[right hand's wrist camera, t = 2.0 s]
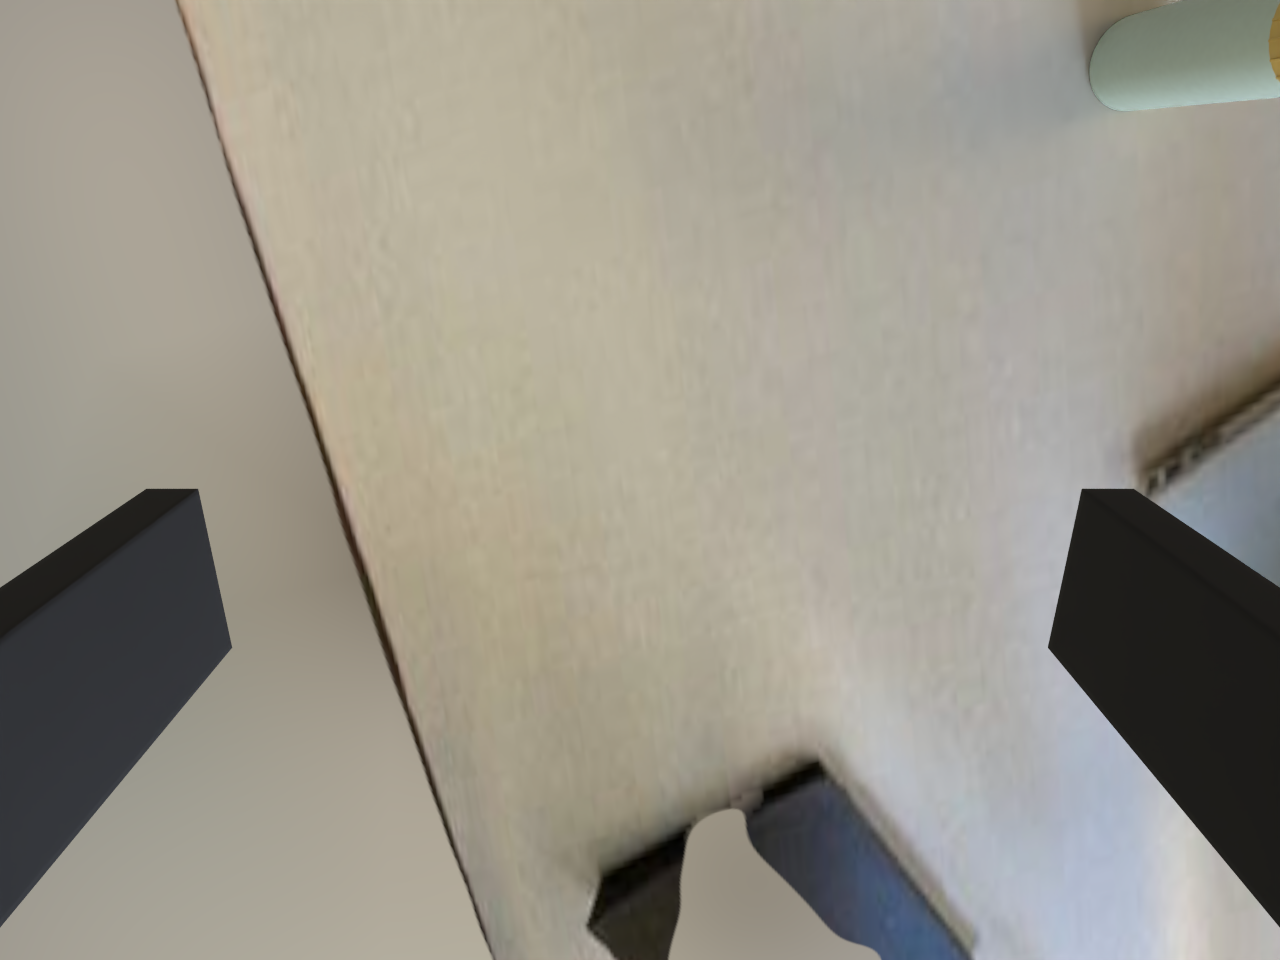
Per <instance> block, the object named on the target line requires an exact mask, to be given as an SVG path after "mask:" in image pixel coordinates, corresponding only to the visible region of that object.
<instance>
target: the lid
mask: <svg viewBox="0 0 1280 960" xmlns="http://www.w3.org/2000/svg"><path fill="white" fill-rule="evenodd" d="M1268 42H1269V56H1270V60H1269V61H1270V62H1271V65H1272V69H1273V71H1274V73H1275V76H1276V77H1275V78H1276V79H1278V81H1279V82H1280V3H1279V5H1278V7H1277V9H1276V12H1275V15H1274V18H1272V25H1271V29H1270V35H1269V40H1268Z"/></svg>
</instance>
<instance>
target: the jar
mask: <svg viewBox="0 0 1280 960" xmlns="http://www.w3.org/2000/svg"><path fill="white" fill-rule="evenodd" d="M1279 3H1280V0H1183V1H1179V2H1176V3H1172V4H1169V5H1165V6H1162V7H1158V8H1155V9H1151V10H1148V11H1144V12H1141V13H1137V14H1134V15H1130V16H1128V17H1125V18H1123V19H1121V20H1120V21H1118V22H1116V23H1115V24H1114V25H1113V26H1111V27H1110V28H1109V29H1108V30H1107V31H1106V32H1105V34H1104V35H1103V36H1102V37H1101V39H1100V40H1099V42H1098V44H1097V45H1096V47H1095V49H1094V52H1093V54H1092V58H1091V62H1090V69H1089V76H1090V83H1091V87H1092V90H1093V92H1094V94H1095V96H1096V97H1097V98H1098V100H1099V101H1100V102H1101V103H1102V104H1104V105H1105V106H1107V107H1109V108H1111V109H1114V110H1117V111H1135V110H1146V109H1157V108H1168V107H1179V106H1190V105H1201V104H1212V103H1223V102H1234V101H1245V100H1256V99H1267V98H1278V97H1280V82H1279V81H1278V79H1276V78H1275V77H1276V76H1275V73H1274V71H1273V69H1272V65H1271V62H1270V61H1269V60H1270V56H1269V42H1268V40H1269V35H1270V29H1271V25H1272V18H1274V15H1275V12H1276V9H1277V7H1278V5H1279Z"/></svg>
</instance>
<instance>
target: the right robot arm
mask: <svg viewBox="0 0 1280 960" xmlns="http://www.w3.org/2000/svg"><path fill="white" fill-rule="evenodd" d="M231 648H232V645H231V641H230V636H229V631H228V627H227V622H226V617H225V613H224V608H223V603H222V599H221V594H220V589H219V585H218V580H217V575H216V571H215V566H214V561H213V557H212V552H211V547H210V542H209V538H208V533H207V528H206V524H205V519H204V514H203V510H202V505H201V500H200V496H199V491H198V489H146V490H144V491H143V492H141V493H140V494H138V495H137V496H135V497H134V498H132V499H131V500H129V501H128V502H126V503H125V504H123V505H122V506H120V507H119V508H118V509H116V510H114V511H113V512H112V513H110V514H109V515H107V516H106V517H104V518H103V519H101V520H100V521H98V522H97V523H95V524H94V525H92V526H91V527H89V528H88V529H86V530H85V531H83V532H82V533H81V534H79V535H78V536H76V537H75V538H73V539H72V540H70V541H69V542H67V543H66V544H64V545H63V546H61V547H60V548H58V549H57V550H55V551H54V552H52V553H51V554H50V555H48V556H46V557H45V558H44V559H42V560H41V561H39V562H38V563H36V564H35V565H33V566H32V567H30V568H29V569H27V570H26V571H24V572H23V573H21V574H20V575H18V576H17V577H15V578H14V579H12V580H11V581H9V582H8V583H6V584H5V585H4V586H2V587H1V588H0V927H1V926H2V924H3V923H4V922H5V921H6V920H7V918H8V917H9V916H10V915H11V914H12V912H13V911H14V910H15V909H16V908H17V906H18V905H19V904H20V903H21V902H22V900H23V899H24V898H25V897H26V896H27V894H28V893H29V892H30V891H31V890H32V888H33V887H34V886H35V885H36V883H37V882H38V881H39V880H40V879H41V877H42V876H43V875H44V874H45V873H46V871H47V870H48V869H49V868H50V867H51V865H52V864H53V863H54V862H55V861H56V859H57V858H58V857H59V856H60V855H61V853H62V852H63V851H64V850H65V848H66V847H67V846H68V845H69V844H70V842H71V841H72V840H73V839H74V838H75V836H76V835H77V834H78V833H79V832H80V830H81V829H82V828H83V827H84V826H85V824H86V823H87V822H88V821H89V819H90V818H91V817H92V816H93V815H94V813H95V812H96V811H97V810H98V809H99V807H100V806H101V805H102V804H103V803H104V801H105V800H106V799H107V798H108V797H109V795H110V794H111V793H112V792H113V791H114V789H115V788H116V787H117V786H118V785H119V783H120V782H121V781H122V780H123V778H124V777H125V776H126V775H127V774H128V772H129V771H130V770H131V769H132V768H133V766H134V765H135V764H136V763H137V762H138V760H139V759H140V758H141V757H142V756H143V754H144V753H145V752H146V751H147V750H148V748H149V747H150V746H151V745H152V743H153V742H154V741H155V740H156V739H157V737H158V736H159V735H160V734H161V733H162V731H163V730H164V729H165V728H166V727H167V725H168V724H169V723H170V722H171V721H172V719H173V718H174V717H175V716H176V715H177V713H178V712H179V711H180V710H181V708H182V707H183V706H184V705H185V704H186V703H187V701H188V700H189V699H190V698H191V696H192V695H193V694H194V693H195V692H196V690H197V689H198V688H199V687H200V686H201V684H202V683H203V682H204V681H205V680H206V678H207V677H208V676H209V675H210V674H211V672H212V671H213V670H214V669H215V667H216V666H217V665H218V664H219V663H220V661H221V660H222V659H223V658H224V657H225V655H226V654H227V653H228V652H229V651H230V649H231ZM1048 648H1049V649H1050V651H1051V652H1052V653H1053V654H1054V655H1055V657H1056V658H1057V659H1058V660H1059V661H1060V663H1061V664H1062V665H1063V666H1064V668H1065V669H1066V670H1067V671H1068V672H1069V674H1070V675H1071V676H1072V677H1073V678H1074V680H1075V681H1076V682H1077V683H1078V684H1079V686H1080V687H1081V688H1082V689H1083V690H1084V692H1085V693H1086V694H1087V695H1088V696H1089V698H1090V699H1091V700H1092V701H1093V703H1094V704H1095V705H1096V706H1097V707H1098V709H1099V710H1100V711H1101V712H1102V713H1103V715H1104V716H1105V717H1106V718H1107V719H1108V721H1109V722H1110V723H1111V724H1112V725H1113V727H1114V728H1115V729H1116V730H1117V731H1118V733H1119V734H1120V735H1121V736H1122V737H1123V739H1124V740H1125V741H1126V742H1127V744H1128V745H1129V746H1130V747H1131V748H1132V750H1133V751H1134V752H1135V753H1136V754H1137V756H1138V757H1139V758H1140V759H1141V760H1142V762H1143V763H1144V764H1145V765H1146V766H1147V768H1148V769H1149V770H1150V771H1151V772H1152V774H1153V775H1154V776H1155V777H1156V779H1157V780H1158V781H1159V782H1160V783H1161V785H1162V786H1163V787H1164V788H1165V789H1166V791H1167V792H1168V793H1169V794H1170V795H1171V797H1172V798H1173V799H1174V800H1175V801H1176V803H1177V804H1178V805H1179V806H1180V807H1181V809H1182V810H1183V811H1184V812H1185V814H1186V815H1187V816H1188V817H1189V818H1190V820H1191V821H1192V822H1193V823H1194V824H1195V826H1196V827H1197V828H1198V829H1199V830H1200V832H1201V833H1202V834H1203V835H1204V836H1205V838H1206V839H1207V840H1208V841H1209V842H1210V844H1211V845H1212V846H1213V847H1214V848H1215V850H1216V851H1217V852H1218V853H1219V855H1220V856H1221V857H1222V858H1223V859H1224V861H1225V862H1226V863H1227V864H1228V865H1229V867H1230V868H1231V869H1232V870H1233V871H1234V873H1235V874H1236V875H1237V876H1238V877H1239V879H1240V880H1241V881H1242V882H1243V883H1244V885H1245V886H1246V887H1247V888H1248V890H1249V891H1250V892H1251V893H1252V894H1253V896H1254V897H1255V898H1256V899H1257V900H1258V902H1259V903H1260V904H1261V905H1262V906H1263V908H1264V909H1265V910H1266V911H1267V912H1268V914H1269V915H1270V916H1271V917H1272V918H1273V920H1274V921H1275V922H1276V923H1277V924H1278V926H1279V927H1280V588H1279V587H1278V586H1276V585H1275V584H1274V583H1272V582H1271V581H1269V580H1268V579H1266V578H1265V577H1263V576H1262V575H1260V574H1259V573H1257V572H1256V571H1254V570H1253V569H1251V568H1250V567H1248V566H1247V565H1245V564H1244V563H1242V562H1241V561H1239V560H1238V559H1237V558H1235V557H1234V556H1232V555H1231V554H1229V553H1228V552H1226V551H1225V550H1223V549H1222V548H1220V547H1219V546H1217V545H1216V544H1214V543H1213V542H1211V541H1210V540H1208V539H1207V538H1205V537H1204V536H1202V535H1201V534H1200V533H1198V532H1197V531H1195V530H1194V529H1192V528H1191V527H1189V526H1188V525H1186V524H1185V523H1183V522H1182V521H1180V520H1179V519H1177V518H1176V517H1174V516H1173V515H1171V514H1170V513H1168V512H1167V511H1166V510H1164V509H1163V508H1161V507H1160V506H1158V505H1157V504H1155V503H1154V502H1152V501H1151V500H1149V499H1148V498H1146V497H1145V496H1143V495H1142V494H1140V493H1139V492H1137V491H1136V490H1134V489H1082V491H1081V496H1080V500H1079V505H1078V510H1077V514H1076V519H1075V524H1074V528H1073V533H1072V538H1071V542H1070V547H1069V552H1068V557H1067V561H1066V566H1065V571H1064V575H1063V580H1062V585H1061V589H1060V594H1059V599H1058V603H1057V608H1056V613H1055V617H1054V622H1053V627H1052V631H1051V636H1050V641H1049V645H1048Z"/></svg>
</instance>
